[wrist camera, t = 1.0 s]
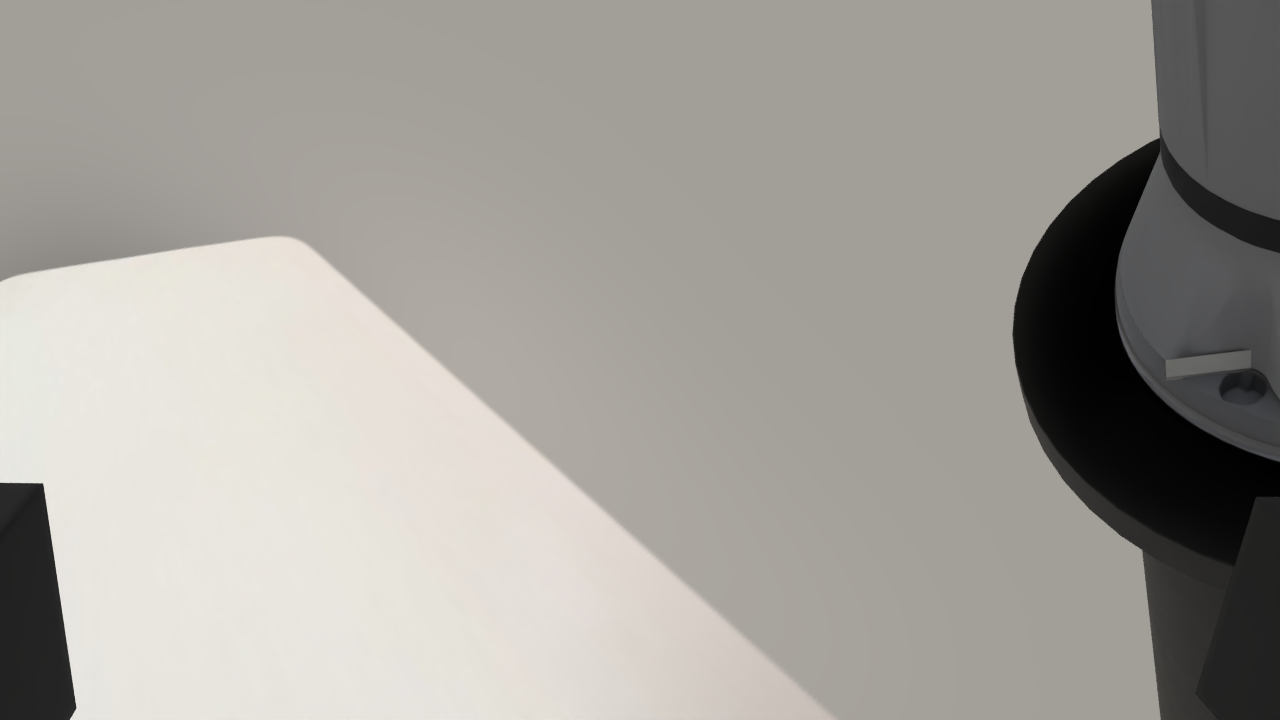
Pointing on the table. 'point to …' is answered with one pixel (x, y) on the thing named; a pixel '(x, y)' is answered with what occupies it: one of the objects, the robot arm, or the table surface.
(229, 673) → the table surface
